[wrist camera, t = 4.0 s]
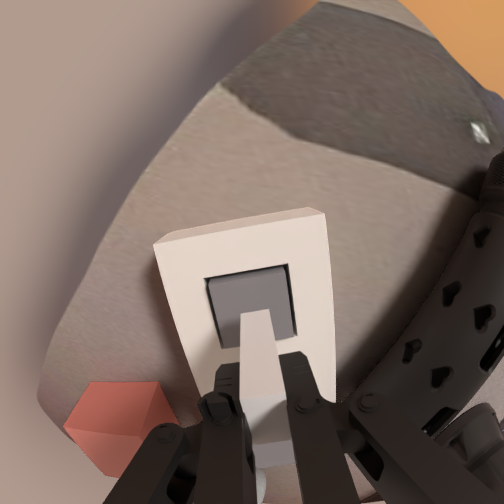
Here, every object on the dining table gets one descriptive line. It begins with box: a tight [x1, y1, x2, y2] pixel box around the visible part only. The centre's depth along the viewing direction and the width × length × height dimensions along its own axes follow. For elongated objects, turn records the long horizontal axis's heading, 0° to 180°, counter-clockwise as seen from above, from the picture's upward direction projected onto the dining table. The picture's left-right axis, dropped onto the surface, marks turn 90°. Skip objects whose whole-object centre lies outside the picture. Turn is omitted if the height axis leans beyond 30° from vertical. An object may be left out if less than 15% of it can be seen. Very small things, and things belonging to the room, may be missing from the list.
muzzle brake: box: [342, 147, 504, 439], centre depth 17 cm, size 10×28×10 cm, turn 149°
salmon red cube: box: [63, 381, 181, 478], centre depth 20 cm, size 8×8×7 cm
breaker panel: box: [153, 207, 336, 403], centre depth 20 cm, size 22×10×4 cm, turn 10°
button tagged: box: [208, 264, 294, 349], centre depth 18 cm, size 4×4×4 cm
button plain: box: [252, 440, 296, 469], centre depth 19 cm, size 4×4×4 cm
